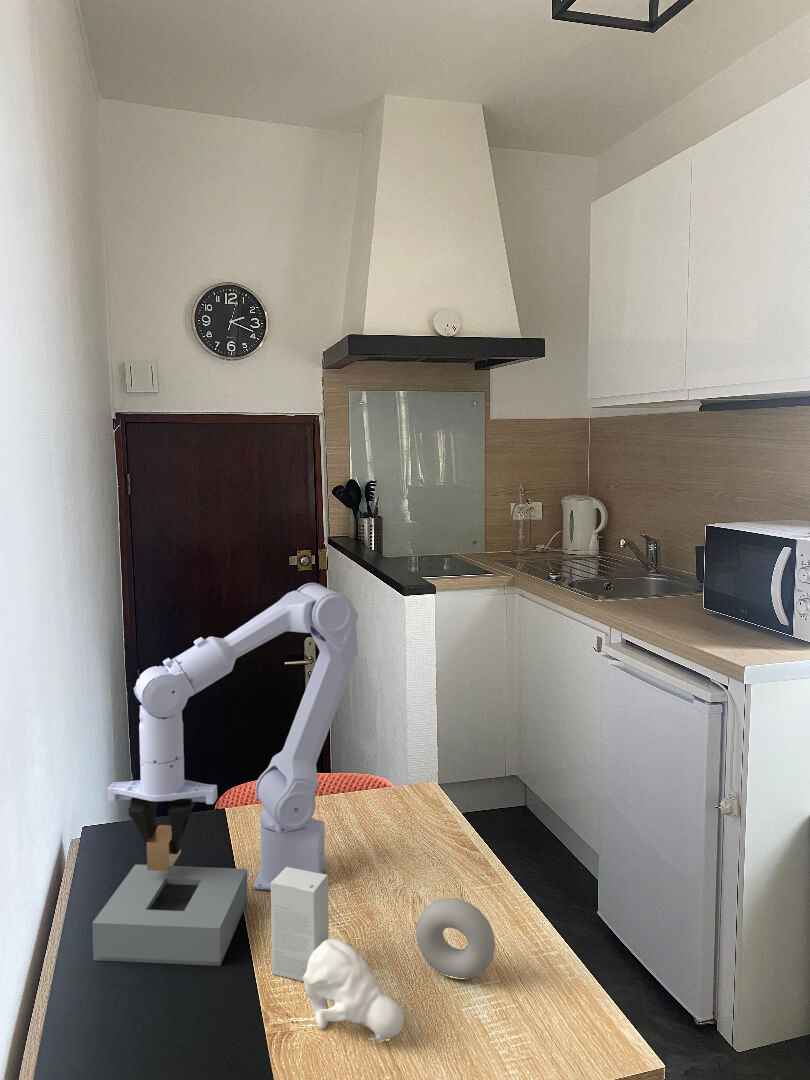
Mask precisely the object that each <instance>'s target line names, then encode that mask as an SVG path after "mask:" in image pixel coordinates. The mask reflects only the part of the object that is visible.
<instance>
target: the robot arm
mask: <svg viewBox="0 0 810 1080" xmlns="http://www.w3.org/2000/svg"><path fill="white" fill-rule="evenodd" d="M358 619H359V613H358V612H357V610H356V608H355V607H354V604H353V603H352V601H351V600H350V598H349V597H348V596H346V595H345V594H343V593H341V592H337V591H334V590H332V589H329V588H327V587H325V586H324V585H322V584H320V583H316V582H309V583H305V584H303V585H301V586H299V588H297V590H293V591H290V592H287V593H286V594H285V595H283V596H282V597H281V598H280V599H279V600H278V601H277V602H275V603H274V604H272V605H271V606H269V607H268V608H266V609H265V610H264V611H262V612H260V613H259V614H257V615H256V616H254V617H253V618H251V619H250V620H249V621H248V622H246V623H244V624H243V625H241V626H239V627H238V628H237V629H235V630H234V631H232V632H231V633H229V634H227V636H224V637H223V638H221V637H216V636H208V637H206V638H203V637H201V636H200V637H199V638H196V639H195V640H194V641H193V643H194V645H193V646H192V647H190V648H188V649H186V650H184V651H183V652H182V653H180V654H179V655H176V656H175V657H173V658H172V659H170V657H167V658H165V659H164V660H163V661H162V663H163V665H164V666H163V665H159V666H157V665H155V666H151V667H148V668H147V669H145V670H144V671H143V672H142V673H141V674H140V675H139V678H137V679H136V683H135V686H134V687H133V692H134V695H135V697H136V699H137V700H138V702H139V703H141V704H140V705H139V721H140V722H139V724H138V725H139V726H138V732H139V734H138V736H139V737H138V738H139V766H140V770H139V771H140V775H139V776H140V780H130V781H114V782H112V783H111V784H110V785H109V786H108V787H107V801H108V802H117V800H122V801H123V800H125V801H126V800H127V801H128V800H129V801H130V806H129V807H128V808H127V811H128V813H127V814H128V816H129V817H130V818H131V819H132V821H133V822H134V824H135V826H136V827H137V829H138V832H139V833H140V836H141V839H142V841H143V845H144V848H145V852H146V854H147V841H148V840H149V838H150V837H151V836H152V834H153V833H154V832H155V830H156V829H157V822H156V821H157V820H156V819H157V807H158V806H157V805H158V802H167V801H168V802H173V804H172V805H171V806H170V808H169V809H168V810H167V812H168V817H169V823H170V825H171V831H172V846H171V847H172V854H178V852H179V851H180V849H182V846H183V839H184V833H185V830H186V826H187V823H188V821H189V817H190V816H191V813H192V811H193V808H194V806H195V805H196V804H195V803H197V802H199V803H205V804H206V805H214V804H215V803H216V801H217V799H218V785H217V784H208V783H202V782H197V781H192V780H188V779H185V755H184V754H185V753H184V751H185V749H184V722H183V710H184V709H185V707H186V705H187V703H188V699H189V698H190V697H192V696H193V697H194V695H196V694H198V693H199V692H201V691H202V690H204V689H206V688H207V687H209V686H211V685H212V684H214V683H215V682H216V681H218V680H220V679H222V678H223V677H225V676H226V675H228V674H230V673H231V672H232V671H233V669H234V666H235V663H236V660H237V658H240V657H241V656H243V655H246V653H249V652H250V651H252V650H254V649H256V648H257V647H260V646H262V645H263V644H265V643H267V642H269V641H270V640H272V639H274V638H276V637H278V636H279V635H282V634H283V633H286V632H294V633H303V634H304V633H305V634H311V637H312V638H313V641H314V643H315V644H316V646H317V648H318V650H319V654H318V656H317V659H316V662H315V665H314V667H313V669H312V672H311V675H310V676H309V680H308V682H307V686H306V687H305V691H304V692H303V693H304V694H303V696H302V698H301V701H300V703H299V707H298V709H297V711H296V714H295V717H294V720H293V721H292V725H291V727H290V730H289V733H288V735H287V737H286V740H285V743H284V746H283V748H282V750H281V751H279V752H278V753H276V754H275V755H273V756H272V758H271V760H270V762H269V765H267V766H268V767H267V768H266V769H265V770H264V771H263V772H262V773H261V774H260V775H259V777H258V779H257V780H256V783H255V789H254V791H255V796H256V798H257V801H259V803H260V804H261V805H262V811H261V815H260V823H259V824H260V825H259V826H260V827H259V828H260V830H259V831H260V834H259V835H260V868H259V871H258V873H257V876H256V878H255V881H254V882H253V885H252V888H253V890H265V891H271V882H272V881H273V880H274V879H275V878H276V877H277V876H278V875H279V874H280V873H281V872H282V871H283V870H284V869H285V868H286V867H290V868H295V869H300V870H305V871H310V872H315V873H321V874H324V871H325V866H326V859H325V858H326V856H325V854H326V853H325V851H326V850H325V848H326V846H325V843H326V841H325V839H326V837H325V833H326V832H325V831H326V829H325V821H324V820H320V819H316V818H313V816H314V814H315V813H316V811H315V810H316V792H317V789H318V787H319V777H318V770H317V763H318V759H319V757H320V754H321V751H322V749H323V746H324V744H325V741H326V739H327V736H328V734H329V730H330V728H331V725H332V723H333V721H334V718H335V714H336V712H337V710H338V707H339V705H340V702H341V699H342V696H343V693H344V691H345V688H346V687H347V683H348V680H349V678H350V675H351V673H352V670H353V667H354V665H355V661H356V659H357V656H358V652H359V643H358V635H357V634H358V632H357V625H356V624H357V621H358Z"/></svg>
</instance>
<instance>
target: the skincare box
mask: <svg viewBox="0 0 810 1080" xmlns="http://www.w3.org/2000/svg"><path fill="white" fill-rule="evenodd" d="M329 916H330V915H329V874H325V873H323V874H321V873H315V872H310V871H305V870H300V869H295V868H290V867H286V868H285V869H284V870H283V871H282V872H281V873H280V874H279V875H278V876H277V877H276V878H275V879H274V880H273V881H272V882H271V890H270V918H271V920H270V923H271V924H270V925H271V931H270V932H271V934H270V935H271V938H270V939H271V942H270V943H271V945H270V946H271V974H272V975H273V974H274V976H279V977H282V976H283V977H282V978H286V977H287V978H286V979H290V978H291V980H294V979H295V981H298V982H299V981H300V982H303V976H304V975H305V973H306V971H307V966H308V961H309V958H310V956H311V955H312V953H313V952H314V950H315V949H316V948H317V947H318V946H320V945H321V944H322V943H323V942H324V941H325V940H328V939H330V938H329V937H330V935H329V934H330V932H329V929H330V928H329V922H330V921H329Z"/></svg>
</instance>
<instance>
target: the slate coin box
mask: <svg viewBox="0 0 810 1080" xmlns="http://www.w3.org/2000/svg"><path fill="white" fill-rule="evenodd" d="M247 905H248V868H238V867H237V868H232V867H213V866H212V867H210V866H207V867H206V866H186V865H185V866H184V865H183V866H181V865H179V866H178V865H173V866H172V868H171V869H170V871H151V870H147V864H134V865H133V867H132V868H131V870H130V871H129V872H128V873H127V875H126V877H125V878H124V879H123V881H122V882H121V883H120V884H119V886H118V887H117V888H116V890H115V891H114V893H112V896H111V897H110V898H109V899H108V901H107V902H106V904H105V905H104V906H103V908H102V909H101V910H100V911H99V913H98V915H97V916H96V917H95V919H94V920H93V921H92V925H91V926H92V927H91V929H92V951H93V952H92V954H93V961H101V962H103V961H104V962H121V963H122V962H123V963H124V962H125V963H126V962H127V963H145V964H146V963H147V964H164V965H165V964H167V965H186V966H187V965H193V966H211V967H212V966H214V967H216V966H217V967H221V965H222V962H223V961H224V958H225V956H226V953H227V950H228V948H229V946H230V944H231V941H232V939H233V937H234V934H235V932H236V930H237V928H238V926H239V924H240V923H239V922H240V920H241V919H242V916H243V913H244V912H245V908H246V907H247Z"/></svg>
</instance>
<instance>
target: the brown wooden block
mask: <svg viewBox="0 0 810 1080" xmlns="http://www.w3.org/2000/svg"><path fill="white" fill-rule="evenodd" d="M171 846H172V831H171V824H169V825H167V824H159V825H158V826H156V830H155V832H154V833H153V834H152V836H151V837H150V838H149V840H148V841H147V853H146V865H147V870H151V871H170V869H171V868H172V866H174V864H175V863H176V861H177V859H178V857H179V856H180V855H181V853H182V850H181V849H182V848H181V849H180V851H179V852H178V854H172V847H171Z"/></svg>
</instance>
